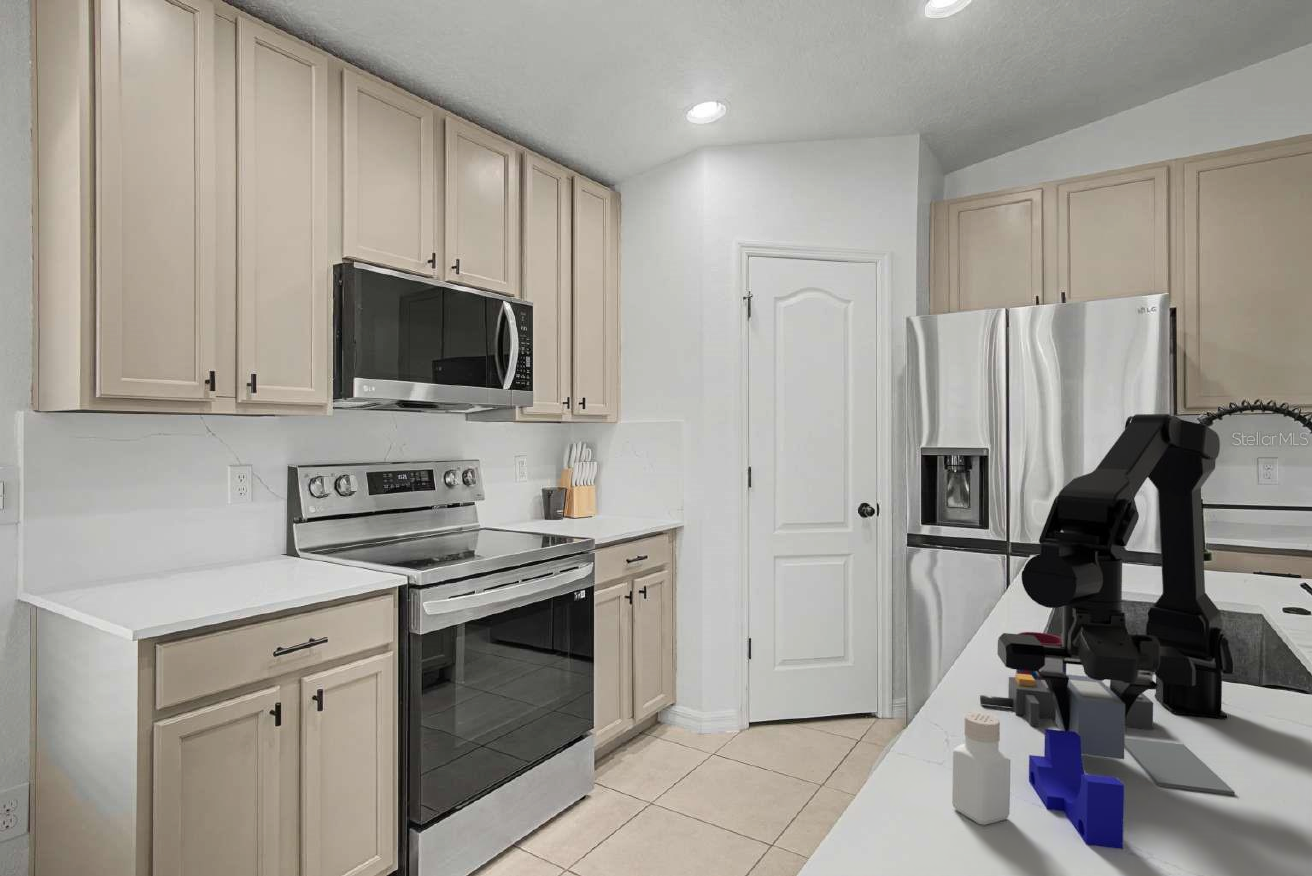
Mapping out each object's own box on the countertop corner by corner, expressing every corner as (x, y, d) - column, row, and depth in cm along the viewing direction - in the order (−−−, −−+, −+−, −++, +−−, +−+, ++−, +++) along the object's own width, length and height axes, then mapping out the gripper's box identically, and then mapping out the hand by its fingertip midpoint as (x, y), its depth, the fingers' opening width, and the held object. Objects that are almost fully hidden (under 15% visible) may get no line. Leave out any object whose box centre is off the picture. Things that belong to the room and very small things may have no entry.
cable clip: (1028, 782, 77) (1029, 727, 77) (1074, 787, 77) (1075, 731, 76) (1068, 844, 66) (1069, 779, 66) (1122, 850, 65) (1124, 785, 65)
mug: (1067, 680, 110) (1068, 636, 110) (1061, 699, 102) (1062, 652, 102) (1019, 671, 114) (1020, 629, 114) (1009, 689, 106) (1010, 643, 106)
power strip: (1137, 715, 96) (1138, 683, 96) (1164, 740, 88) (1164, 706, 88) (977, 698, 102) (978, 668, 102) (988, 721, 94) (989, 688, 94)
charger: (1097, 727, 86) (1098, 676, 86) (1124, 759, 77) (1125, 702, 77) (1055, 722, 87) (1056, 672, 87) (1077, 753, 79) (1078, 697, 79)
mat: (1183, 747, 86) (1183, 744, 86) (1234, 795, 75) (1234, 791, 75) (1118, 739, 88) (1118, 736, 88) (1157, 785, 77) (1157, 781, 77)
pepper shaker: (982, 828, 68) (983, 728, 68) (949, 808, 71) (951, 713, 71) (1012, 820, 69) (1013, 722, 69) (978, 800, 73) (980, 708, 73)
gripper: (1017, 606, 76) (1015, 751, 77) (1222, 621, 71) (1219, 776, 72) (997, 585, 87) (995, 712, 87) (1174, 597, 82) (1171, 732, 82)
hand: (1089, 732), depth 82 cm, fingers closed on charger, 4 cm apart
